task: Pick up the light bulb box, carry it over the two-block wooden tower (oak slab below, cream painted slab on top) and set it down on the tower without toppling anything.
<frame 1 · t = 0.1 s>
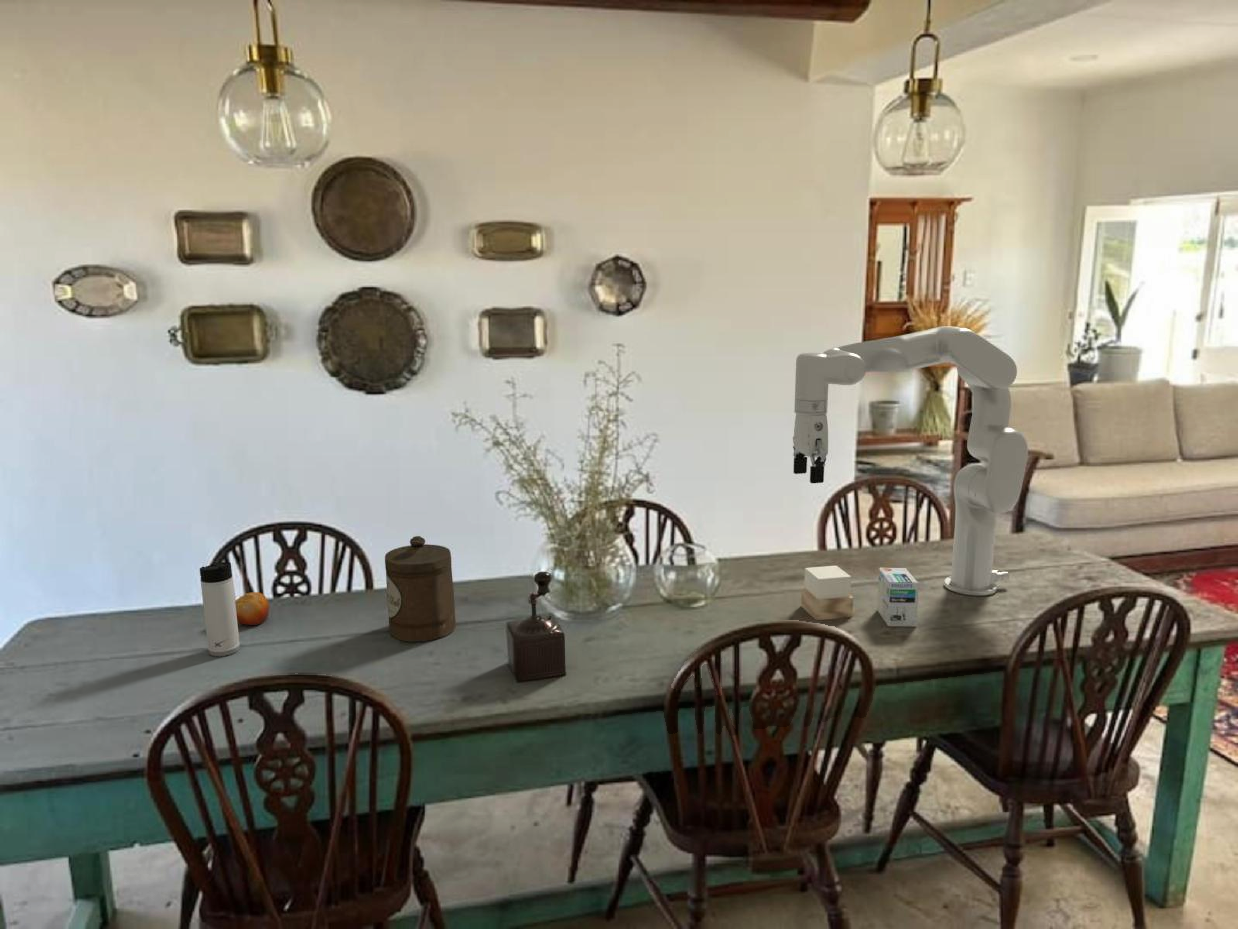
hand: (808, 477, 221), 31 cm above the table, tool pointing down, fingers open, 9 cm apart
travel mug: (225, 652, 202), on the table
manual coffee grinder: (535, 665, 195), on the table
tower top: (826, 592, 221), point 5 cm above the table, touching tower base
tower base: (826, 612, 222), on the table, touching tower top
wooden container: (422, 630, 213), on the table
fruit: (252, 623, 218), on the table
light bulb box: (895, 619, 217), on the table
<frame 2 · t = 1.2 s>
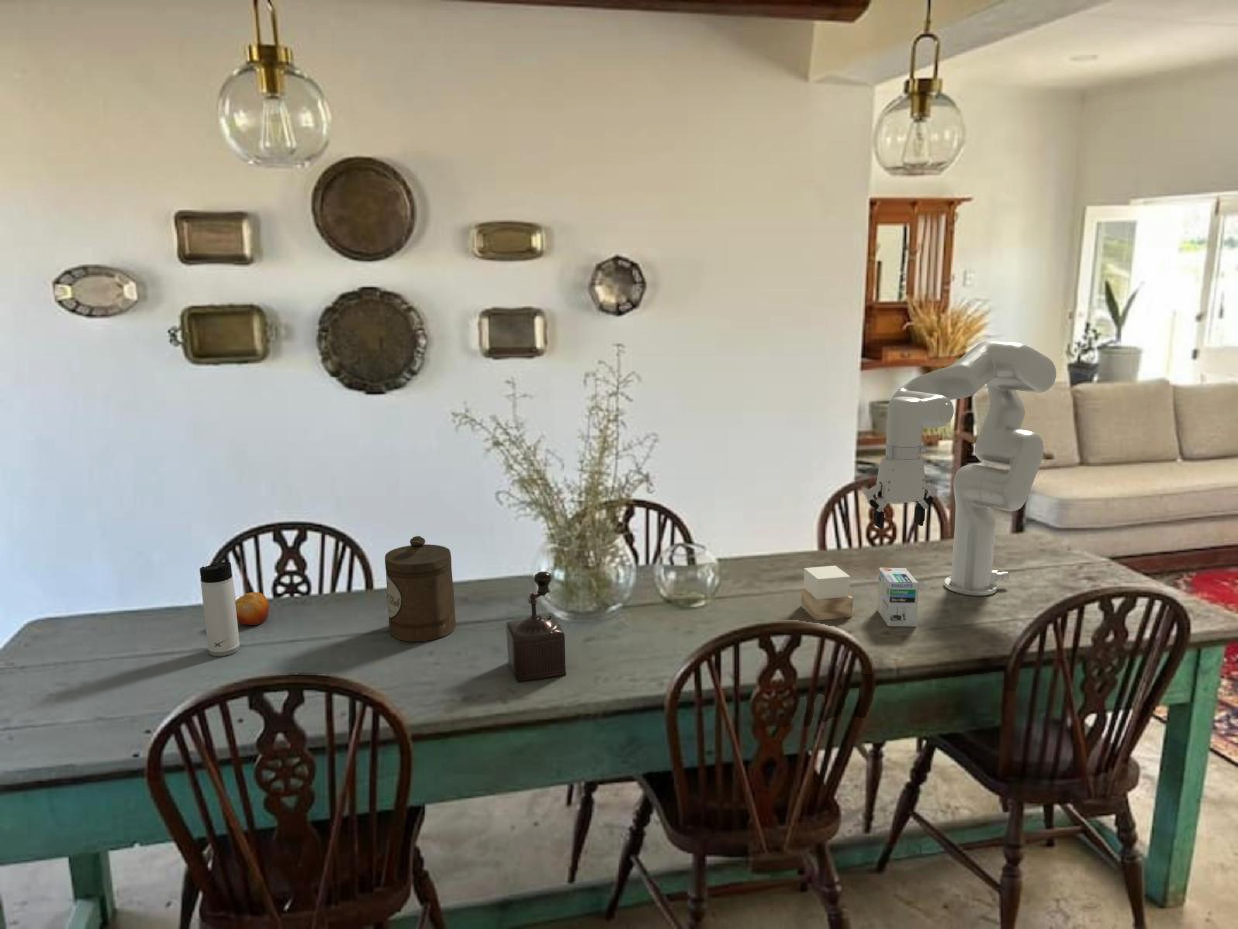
hand: (898, 525, 213), 22 cm above the table, tool pointing down, fingers open, 9 cm apart
nothing on the table moved.
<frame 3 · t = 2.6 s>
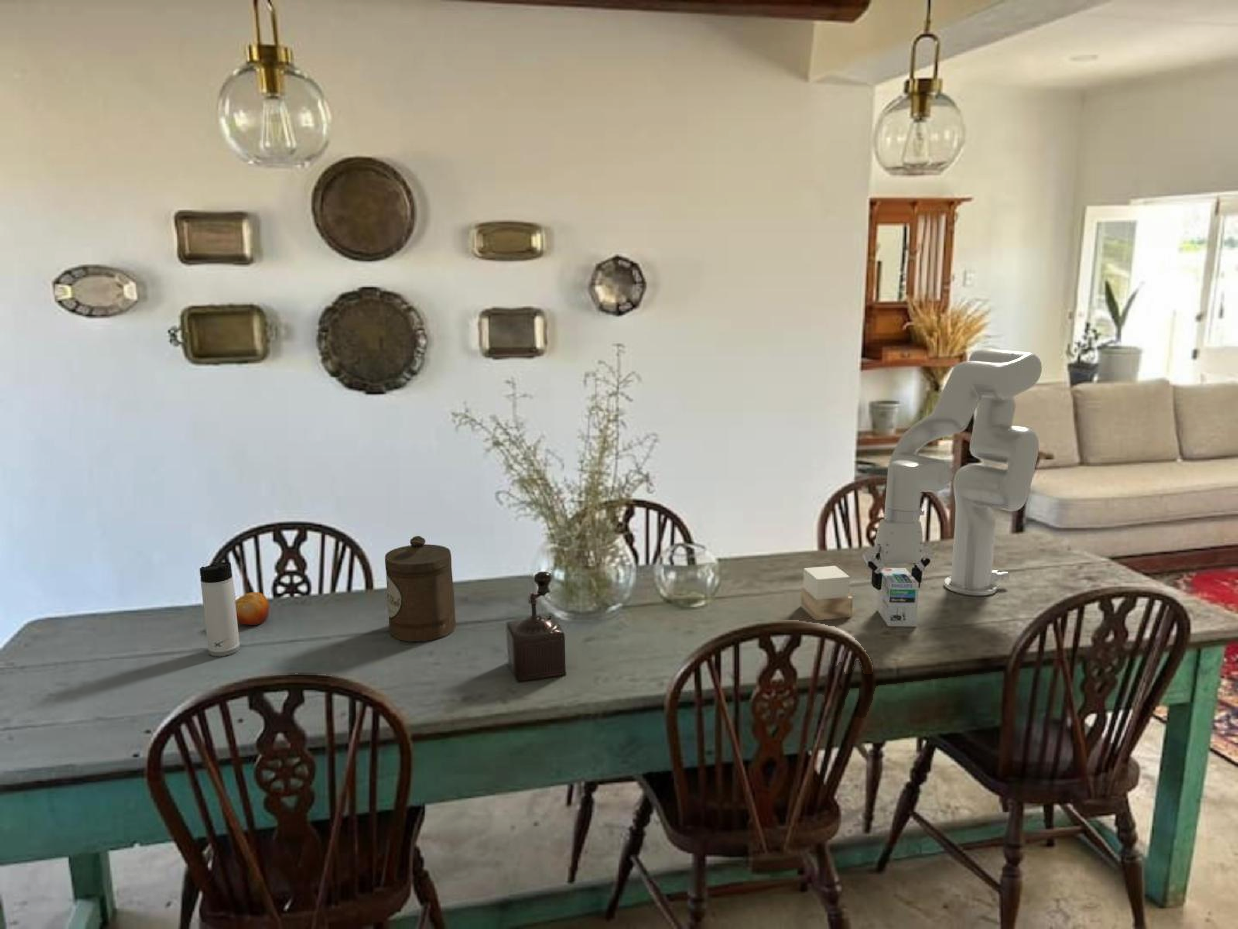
hand: (896, 587, 215), 8 cm above the table, tool pointing down, fingers open, 9 cm apart
nothing on the table moved.
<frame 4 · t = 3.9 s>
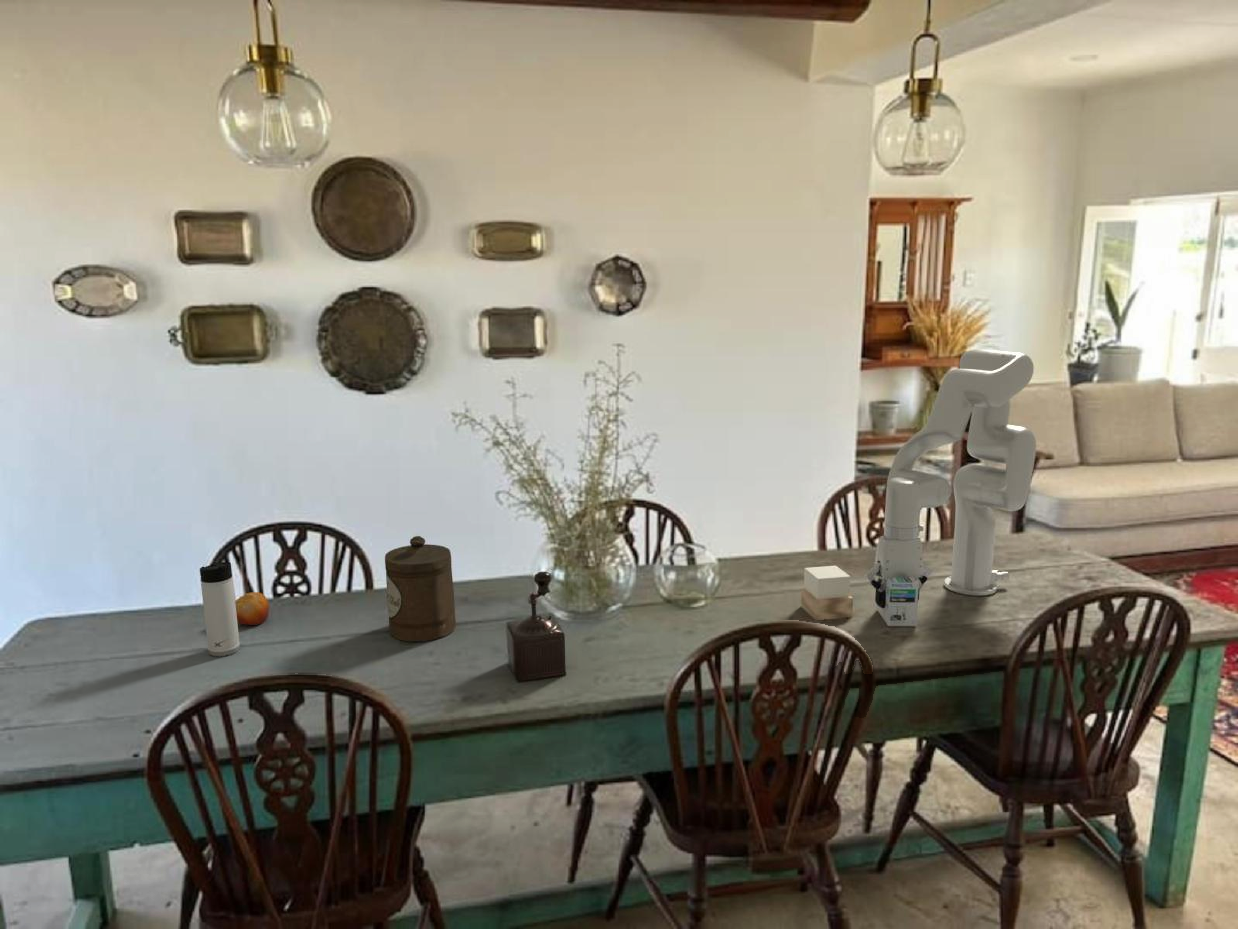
hand: (896, 604, 217), 3 cm above the table, tool pointing down, fingers closed on light bulb box, 7 cm apart
light bulb box: (895, 619, 217), on the table, touching gripper
everything else where it was.
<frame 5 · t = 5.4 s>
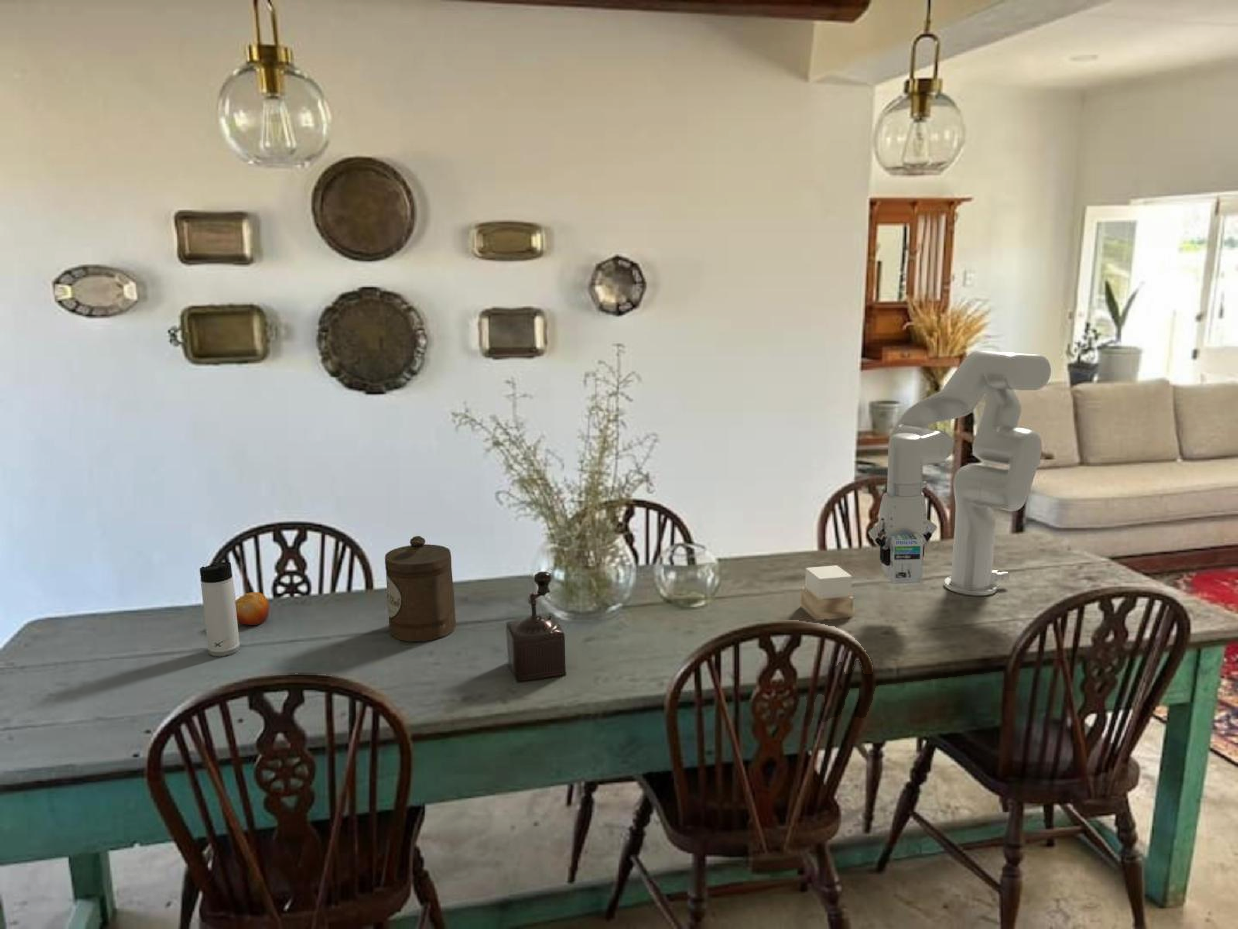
hand: (901, 561, 215), 14 cm above the table, tool pointing down, fingers closed on light bulb box, 7 cm apart
light bulb box: (901, 576, 216), point 10 cm above the table, touching gripper
everything else where it was.
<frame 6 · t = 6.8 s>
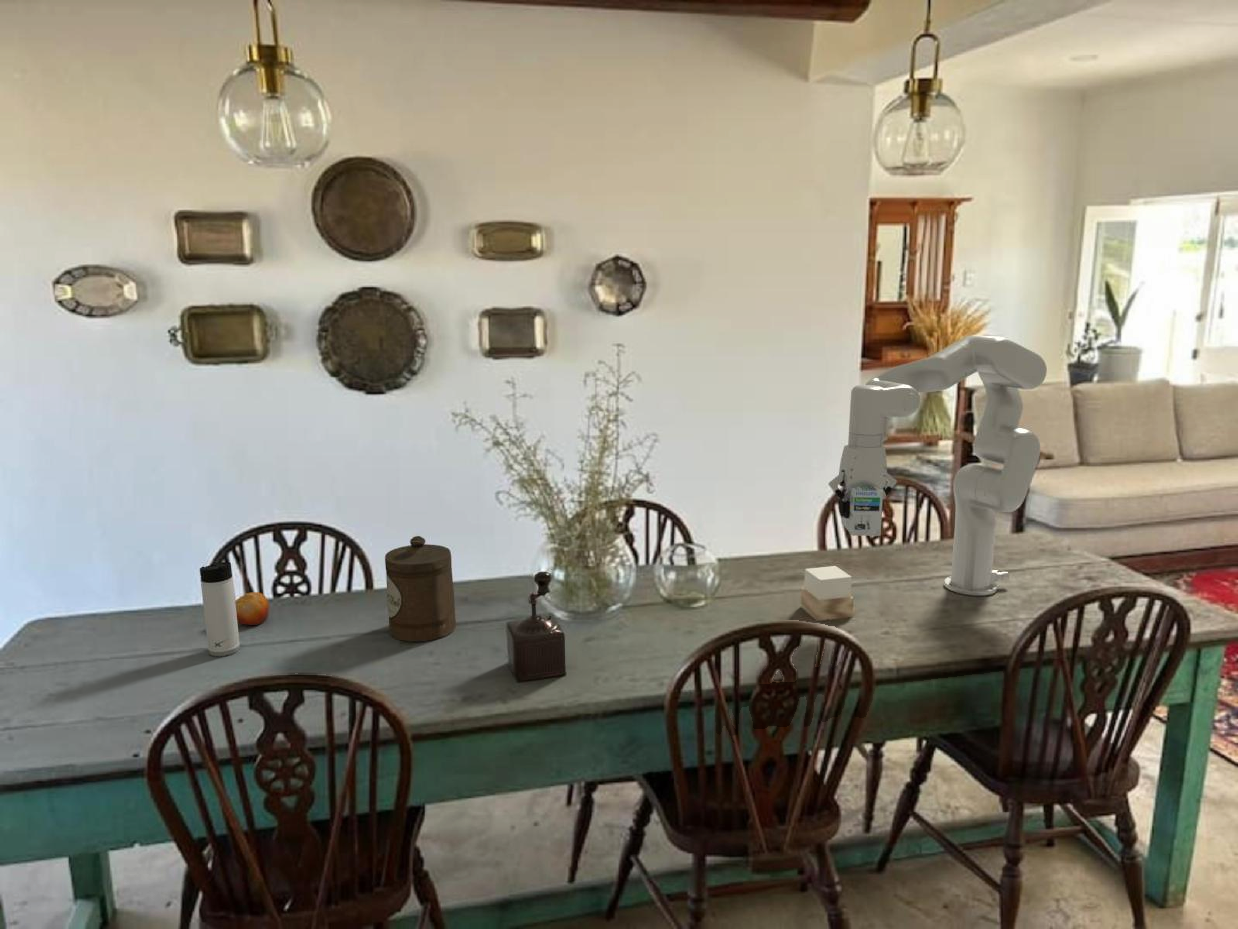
hand: (860, 515, 214), 24 cm above the table, tool pointing down, fingers closed on light bulb box, 7 cm apart
tower top: (827, 592, 221), point 5 cm above the table
tower base: (826, 613, 222), on the table
light bulb box: (860, 530, 215), point 21 cm above the table, touching gripper
everything else where it was.
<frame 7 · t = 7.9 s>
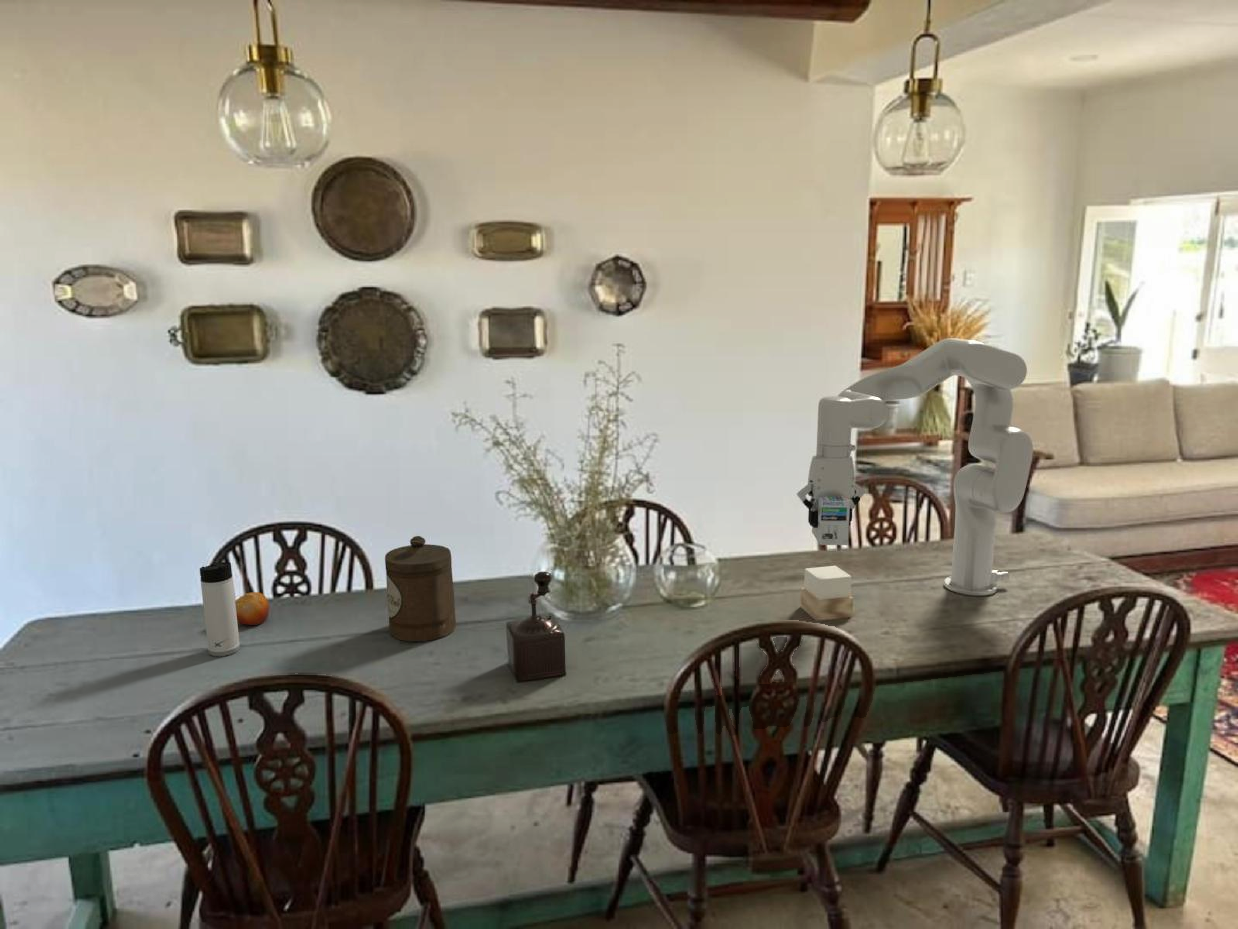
hand: (829, 524, 217), 21 cm above the table, tool pointing down, fingers closed on light bulb box, 7 cm apart
tower top: (827, 592, 221), point 5 cm above the table, touching tower base
tower base: (825, 612, 222), on the table, touching tower top
light bulb box: (829, 539, 218), point 18 cm above the table, touching gripper
everything else where it was.
when the fingers open (14 cm above the table, at t = 10.1 s): light bulb box stays where it is, resting on tower top.
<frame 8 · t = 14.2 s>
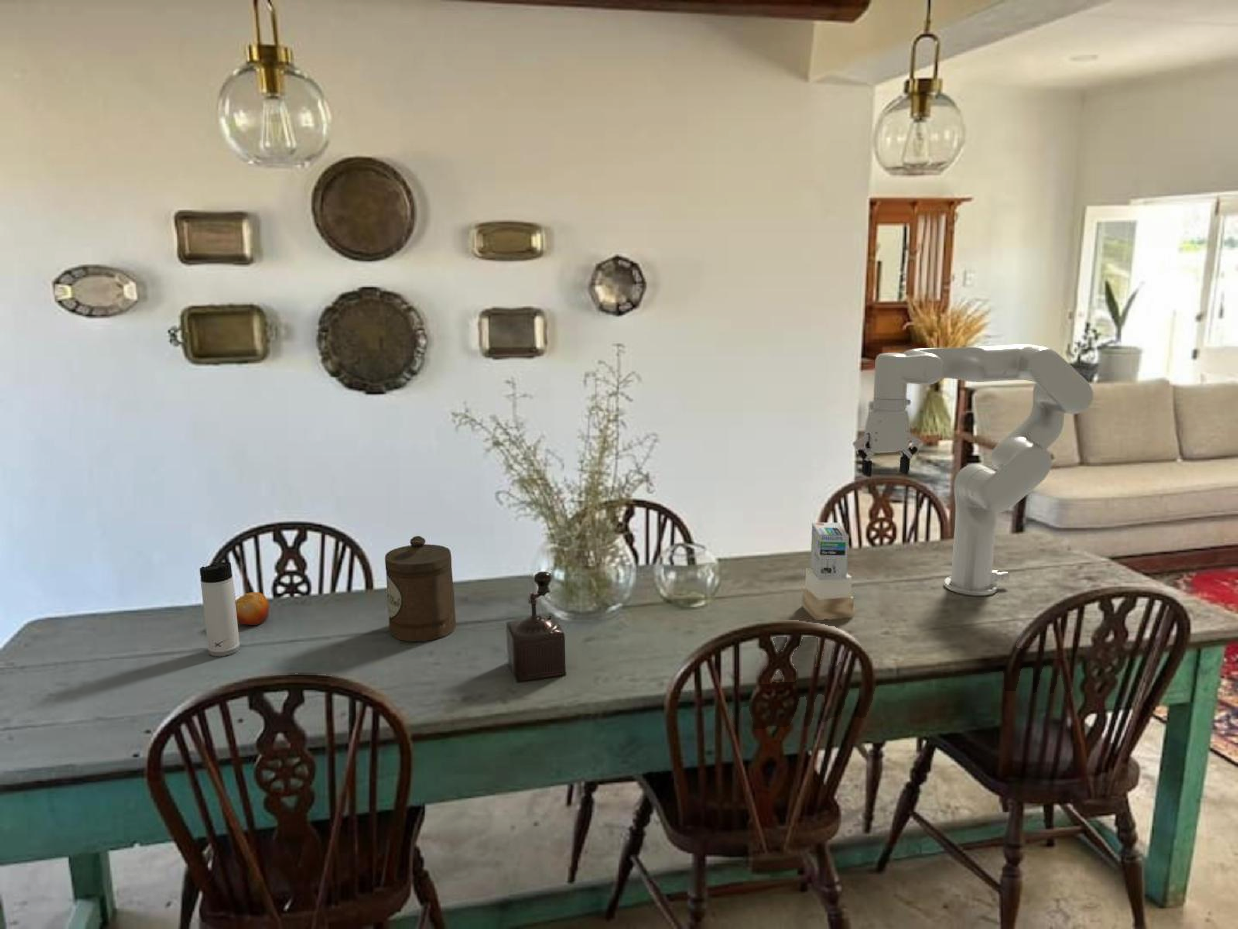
hand: (885, 474, 227), 30 cm above the table, tool pointing down, fingers open, 9 cm apart
tower top: (827, 592, 221), point 5 cm above the table, touching light bulb box, tower base
light bulb box: (827, 573, 220), point 10 cm above the table, touching tower top
everything else where it was.
at the end: light bulb box inside the target area on the tower top (0.3 cm from its centre), point 4.9 cm above the tower top's base; light bulb box tilted 1°; tower top moved 0.4 cm from its start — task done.
